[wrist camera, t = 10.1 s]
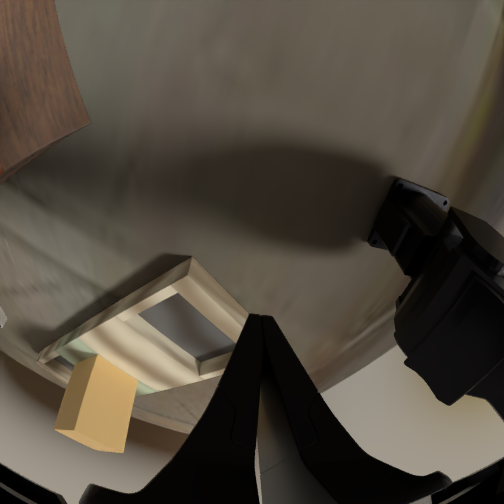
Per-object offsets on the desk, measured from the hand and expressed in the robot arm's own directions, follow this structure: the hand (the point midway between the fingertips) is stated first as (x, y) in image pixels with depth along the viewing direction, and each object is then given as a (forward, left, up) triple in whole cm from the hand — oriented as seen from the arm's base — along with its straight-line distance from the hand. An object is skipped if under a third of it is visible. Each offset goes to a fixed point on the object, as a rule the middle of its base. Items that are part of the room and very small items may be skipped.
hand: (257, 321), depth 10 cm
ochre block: (+15, +29, -10) cm, 34 cm away
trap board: (+12, +26, -13) cm, 31 cm away
